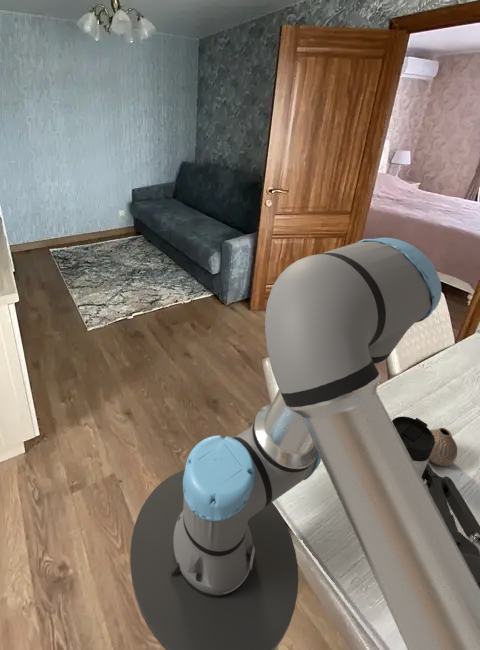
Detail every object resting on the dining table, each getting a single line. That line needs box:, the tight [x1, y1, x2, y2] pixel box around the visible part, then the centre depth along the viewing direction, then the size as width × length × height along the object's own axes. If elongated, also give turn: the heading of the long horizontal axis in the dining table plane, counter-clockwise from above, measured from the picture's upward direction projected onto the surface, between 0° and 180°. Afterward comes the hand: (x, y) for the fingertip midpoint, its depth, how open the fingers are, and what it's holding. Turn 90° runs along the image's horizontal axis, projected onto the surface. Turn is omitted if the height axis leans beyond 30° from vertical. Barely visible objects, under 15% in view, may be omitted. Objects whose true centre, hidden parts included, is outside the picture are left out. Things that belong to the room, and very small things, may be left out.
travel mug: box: [391, 416, 435, 477], centre depth 60 cm, size 6×7×20 cm
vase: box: [428, 427, 458, 467], centre depth 83 cm, size 7×7×9 cm
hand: (384, 440), depth 65 cm, fingers closed on travel mug, 6 cm apart
